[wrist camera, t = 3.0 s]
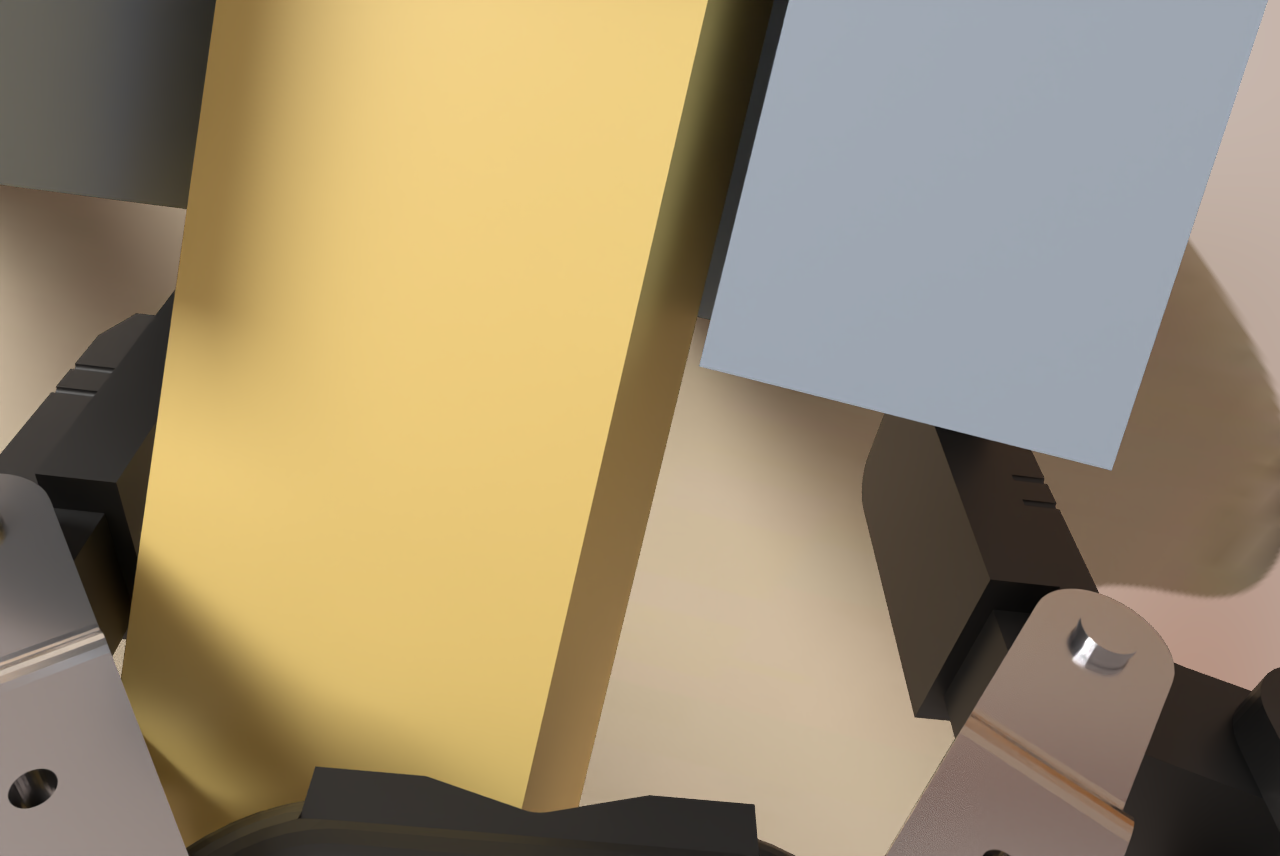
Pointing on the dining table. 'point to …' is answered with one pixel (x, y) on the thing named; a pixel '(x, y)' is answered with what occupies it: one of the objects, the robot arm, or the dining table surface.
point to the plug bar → (422, 385)
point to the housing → (826, 187)
